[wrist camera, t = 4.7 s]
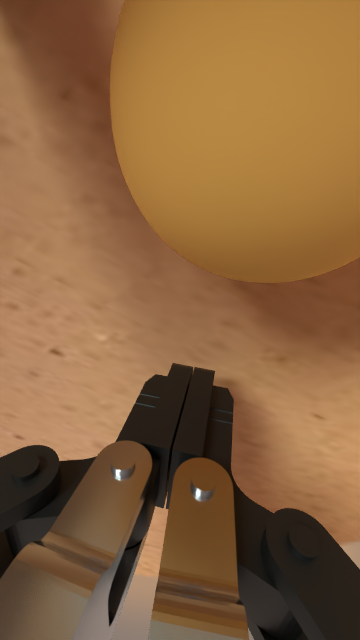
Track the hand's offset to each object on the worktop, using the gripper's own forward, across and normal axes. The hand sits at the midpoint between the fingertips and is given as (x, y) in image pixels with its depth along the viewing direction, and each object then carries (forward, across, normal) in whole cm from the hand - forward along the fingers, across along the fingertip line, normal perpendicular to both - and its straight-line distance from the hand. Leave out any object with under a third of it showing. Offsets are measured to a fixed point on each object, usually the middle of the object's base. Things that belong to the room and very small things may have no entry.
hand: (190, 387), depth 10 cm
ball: (-2, -1, -8) cm, 8 cm away
